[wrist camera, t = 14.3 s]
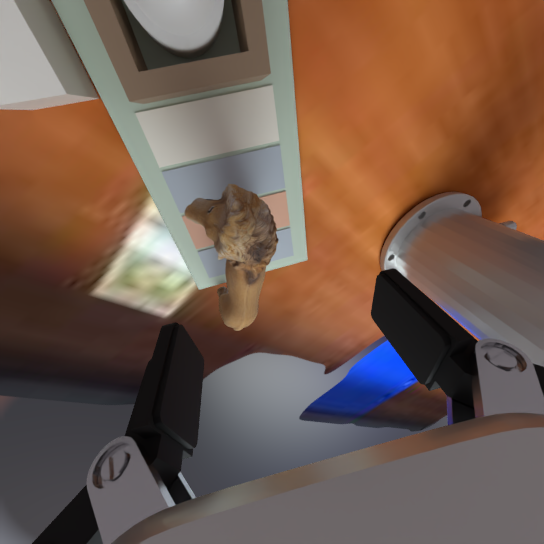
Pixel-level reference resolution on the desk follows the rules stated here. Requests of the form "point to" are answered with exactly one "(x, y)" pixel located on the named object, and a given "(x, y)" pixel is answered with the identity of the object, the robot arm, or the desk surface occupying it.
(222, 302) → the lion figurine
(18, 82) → the ivory die
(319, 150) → the desk surface
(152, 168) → the game board
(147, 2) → the dome button
